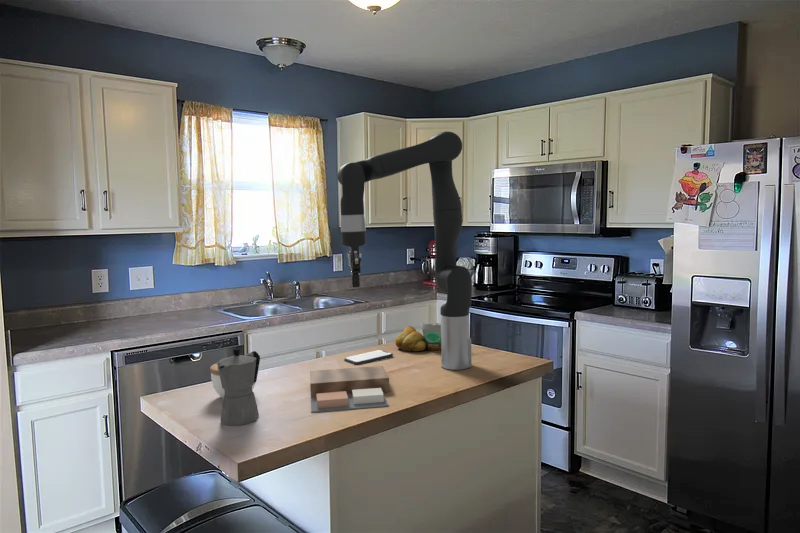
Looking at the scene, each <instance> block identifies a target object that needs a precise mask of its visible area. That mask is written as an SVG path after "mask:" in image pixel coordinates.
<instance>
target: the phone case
mask: <svg viewBox="0 0 800 533" xmlns="http://www.w3.org/2000/svg"><path fill="white" fill-rule="evenodd" d="M390 357H392V358H394V354H393V353H392V352H389V351H386V350H383V349H377V350H373V351H367V352H363V353H360V354H355V355H351V356H346V357H344V358H343V359H344V362H347V363H349V364H352V365H356V366H359V365H364V364H368V363H373V361H374V362H378V361H383V360H387V359H391V358H390ZM386 358H387V359H386ZM382 359H383V360H382ZM377 360H378V361H377Z"/></svg>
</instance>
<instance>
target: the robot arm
mask: <svg viewBox="0 0 800 533" xmlns="http://www.w3.org/2000/svg"><path fill="white" fill-rule="evenodd" d="M462 150H463V142H462V139H461V137H460V136H459V135H458V134H457V133H455V132H454V131H453V132H452V131H442V132H439V133H437V134H435V135H432V136H431V137H430V138H429V139H428V140H426V141H424V142H421V143H417V144H415V145H411V146H407V147H403V148H400V149H399V148H398V149H394V150H390V151H386V152H382V153H380V154H375V155H373V156H370V157H369V158H366V159H363V160H359V161H358V160H357V161H355V162H353V161H352V162H346V163H345V164H343V165H341V167H340V168H339V169H338V171H337V174H336V176H337V181H338V182H339V184H340V185H341V186H342V189H341V191H342V195H341V198H340V237H341V238H340V239H341V240H340V241H341V246H342V247H349V251H348V252H346V253H347V258H348V266H349V272H350V275H351V286H352V288H359V287H360V285H361V283H360V281H361V280H360V275H361V272H362V270H361V267H362V251H360V247H363V246H366V245H367V230H366V229H367V228H366V217H365V202H364V194H365V184H366V183H368V182H370V181H373V180H380V179H383V178H386V177H391V176H394V175H396V174H399V173H402V172H405V171H407V170H410V169H413V168H415V167H420V166H422V165H426V164H428V167H429V171H430V172H429V173H430V179H431V198H432V199H431V200H432V216H433V218H432V219H433V226H434V227H433V228H434V245H435V272H434V274H435V275H434V276H435V283H436V286H437V288H438V289H439V290H440V291H441V292H443V293H446V294H447V296H446V302H445V303H444V304H442V305H441V306H440V308H439V309H440V312H439V313H440V314H439V315H440V324H441V351H440V354H441V355H440V356H441V358H440V361H441V362H440V363H441V367H442V368H443V369H446V370H453V371H455V370H456V371H457V370H458V371H459V370H465V369H469V368H472V367H473V366H472V338H471V337H470V309H471V306H472V297H473V296H472V295H473V294H472V293H473V279H472V275H471V272H470V270H469V269H468V268H467V267H465V266H463V265H457V258H456V249H457V243H458V240H459V238H460V234H461V231H462V228H463V211H462V201H461V198H460V195H459V192H458V189H457V187H456V184H455V181H454V176H453V161H454V160H455V159H456V158H458V157H459V156H460V155H461V152H462Z"/></svg>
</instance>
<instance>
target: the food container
mask: <svg viewBox="0 0 800 533" xmlns="http://www.w3.org/2000/svg"><path fill="white" fill-rule="evenodd" d="M420 329H421V330H422V335H423V337H424V342H425V343H426V348H425V349H426V351H428V350H429V351H428V352H434V351H440V352H441V323H437V322H436V323H429V324H427V323H423V322H421V323H420Z"/></svg>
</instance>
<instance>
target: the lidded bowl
mask: <svg viewBox="0 0 800 533" xmlns="http://www.w3.org/2000/svg"><path fill="white" fill-rule="evenodd" d="M209 370H210V379H211V384H212V387H213V389H214V392H216V394H218V396H220V397H221V398H222V400H223V397H224V395H225V390H224V389H223V388H222V384H221V379H220V375H219V370H218V365H217V362H216V363H214V364H212V365H210V368H209ZM256 383H257V381H256V382H255V383H254V384H253V386H252V391H253V390H254V388H255V386H256Z"/></svg>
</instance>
